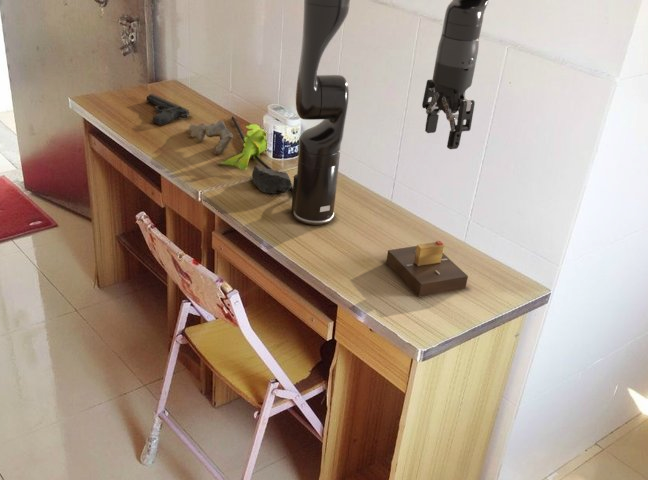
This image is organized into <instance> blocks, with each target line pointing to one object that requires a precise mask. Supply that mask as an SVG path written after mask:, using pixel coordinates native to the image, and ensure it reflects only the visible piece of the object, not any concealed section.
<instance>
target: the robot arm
mask: <svg viewBox="0 0 648 480" xmlns="http://www.w3.org/2000/svg"><path fill="white" fill-rule="evenodd" d="M489 1H490V0H451V2H450V3H449V4H448V5H447V7H446V10H445V12H444V19H443V24H442V30H441V34H440V38H439V41H438V45H437V50H436V57H435V64H434V68H433V73H432V79H427V80H426V82H425V83H426V84H425V89H424V94H423V99H422V103H421V106H422V109H425V113H426V115H427V116H426V120H425V121H426V122H425V129H424V132H425V133H426V134H434V133H436V132H437V127H438V122H439V117H440V116H439V114H440V112H441V111H442V112H443V113H444V114H445V117H446V120H447V121H448V123H449V127H450V130H449V133H448V138H447V145H446V148H447V149H448V150H457V149H458V148H459V146H460V143H461V137H462V133H463V132H469V131H471V128H472V123H473V117H474V116H473V115H474V111H475V103H476V102H475V99H466V91H467V90H468V89H469V88H470V87H472V84H473V79H474V74H475V69H476V64H477V59H478V55H479V47H480V37H481V32H482V28H483V22H484V14H485V11H486V9H487V6H488V4H489ZM350 6H351V0H303V23H302V40H301V52H300V58H299V66H298V73H297V82H296V88H295V89H296V90H295V107H296V109H295V110H296V113H297V116H298V117H299V118H300V119H301V120H307V121H308V120H309V121H310V120H311V121H313V120H314V121H315V120H318V121H319V120H321V122H319V123H318V124H316V125H314V126H311V127H310V128H307V129H305V130H304V131H303V132H301V134H300V136H299V143H298V144H299V147H298V158H297V159H298V161H297V172H296V174H294V176H293V183H292V187H291V188H290V189H289V190H290V191H291V193H292V194H291V195H292V196H291V210H290V212H291V214H293V217H294V219H295V220H296V221H298V222H299V223H303V224H305V225H309V226H310V225H311V226H323V225H327V224H329V223H331V222H332V221H333V220H334V218H335V217H334V216H335V203H336V194H337V185H338V178H339V177H338V176H339V167H340V157H341V149H342V142H343V138H344V132H345V124H346V118H347V114H348V108H349V98H350V97H349V96H350V89H349V83H348V81H347V78H345V77H344V76H343V75H340V74H318V70H319V67H320V63H321V60H322V57H323V55H324V53H325V51H326V49H327V48H328V46H329V45H330V43H331V42H332V40H333V39H334V38H335V36H336V34H337V33H338V32H339V30H340V29H341V27H342V26H343V24H344V22H345V21H346V19H347V18H348V15H349V12H350ZM430 98H431V99H430ZM429 99H430V101H429ZM231 120H232V121H233V123H234V125H235V128H236V129H237V130H238V134H239V136H240V138H241V139H242V141H243V144H244V143H245V141H244V138H245V137H246V136H245V135H244V132H243V131H242V129H241V127H240V124H239V123H238V121H237V119H236V118H235V116H232V117H231ZM456 121H457V122H456ZM255 159H256V160H257V162H258V163H259V164H261V165H262V166H263V168H266V169H272V170H274V169H273V168H271V166H269V164H267V163H266V162H265V161H263V160H262V159H261V158H260V156H259V157H257V156H255Z"/></svg>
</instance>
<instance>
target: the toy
mask: <svg viewBox="0 0 648 480" xmlns="http://www.w3.org/2000/svg"><path fill="white" fill-rule="evenodd" d="M245 128H246V129H248V130H247V132H246V136H244V137H245V138H244V141H245V143H244V142H243V149H242V152H241V153H238V154H236V155H234V156H232V157H230V158H228V159H226V160H225V161H223V162H219V165H220V166H221V165H226V166H235V167H237V168H239V169H240V170H247V169H248V165H249V161H250V159H252V158H253V160H255V159H256V158H255V156H257V157H259V158H260V155H261V154H262V155H264V153H267V152H268V150H267V151H266V149H267V140H266V133H265V132H264V130H265V129H263V128H260V126H259V125H258V124H256V123H252V124H251V123H250V124H249V125H246V126H245ZM239 158H240V159H239Z"/></svg>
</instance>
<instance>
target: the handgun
mask: <svg viewBox="0 0 648 480" xmlns="http://www.w3.org/2000/svg"><path fill="white" fill-rule="evenodd" d="M145 98H146V102H149V103H151V104H153V105H154V110H155V111H156V112H157V113H156V114H154V115H153V117H152V122H153V123H155V124H157V125H159V126H162V125H166V124H169V123H170V122H172V121H173V120H175V119H177V118H178V119H179V118H180V119H188V116H189V115H190V110H189V109H187V108H185V107H183V106H180V105H178V104H176V103H173V102H172V101H169V100H167V99H165V98H162V97H160V96H158V95H156V94H153V93H150V94H148V95H147V96H146V97H145Z"/></svg>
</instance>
